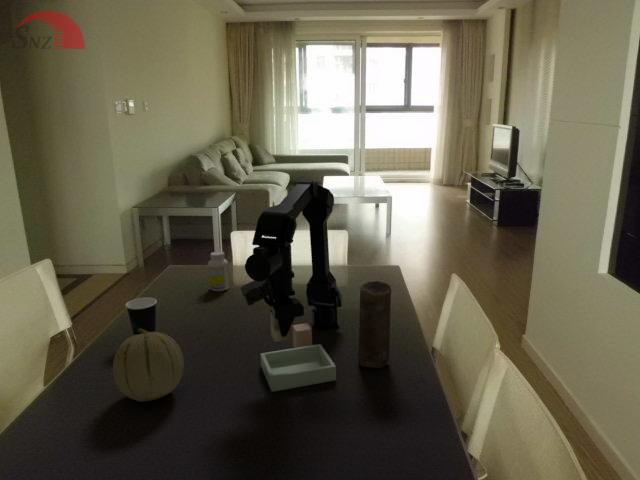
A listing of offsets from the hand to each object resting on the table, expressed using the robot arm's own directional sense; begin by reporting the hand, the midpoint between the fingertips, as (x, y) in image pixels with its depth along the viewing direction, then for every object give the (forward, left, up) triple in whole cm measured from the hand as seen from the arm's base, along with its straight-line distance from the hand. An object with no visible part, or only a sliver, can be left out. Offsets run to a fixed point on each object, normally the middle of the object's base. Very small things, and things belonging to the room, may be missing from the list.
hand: (281, 332), depth 118 cm
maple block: (0, 0, -1) cm, 1 cm away
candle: (-22, +2, -11) cm, 24 cm away
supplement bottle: (+7, -66, -11) cm, 67 cm away
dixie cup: (+31, -31, -11) cm, 45 cm away
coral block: (-8, -12, -11) cm, 18 cm away
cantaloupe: (+29, -1, -11) cm, 31 cm away
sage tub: (-3, 0, -11) cm, 11 cm away
